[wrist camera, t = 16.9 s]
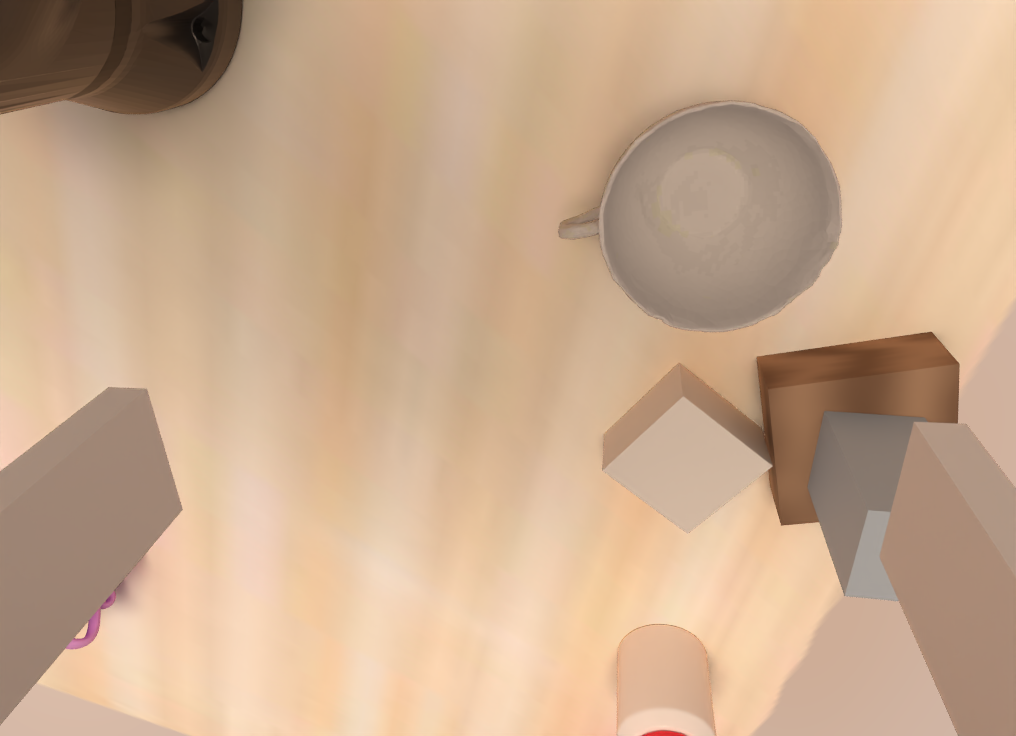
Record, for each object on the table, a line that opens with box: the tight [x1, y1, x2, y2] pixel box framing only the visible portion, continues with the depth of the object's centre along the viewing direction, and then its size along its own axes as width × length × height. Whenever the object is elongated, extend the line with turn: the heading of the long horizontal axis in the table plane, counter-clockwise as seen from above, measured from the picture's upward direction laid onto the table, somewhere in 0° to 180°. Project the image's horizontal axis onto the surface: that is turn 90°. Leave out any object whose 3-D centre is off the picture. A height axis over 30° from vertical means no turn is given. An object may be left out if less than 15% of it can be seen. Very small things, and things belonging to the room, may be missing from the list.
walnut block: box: [757, 332, 959, 525], centre depth 50 cm, size 11×11×5 cm
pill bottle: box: [617, 625, 716, 736], centre depth 60 cm, size 8×8×11 cm
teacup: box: [558, 101, 842, 332], centre depth 43 cm, size 15×12×8 cm
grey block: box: [602, 363, 773, 534], centre depth 52 cm, size 8×8×5 cm
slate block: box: [807, 411, 927, 601], centre depth 43 cm, size 6×6×10 cm
